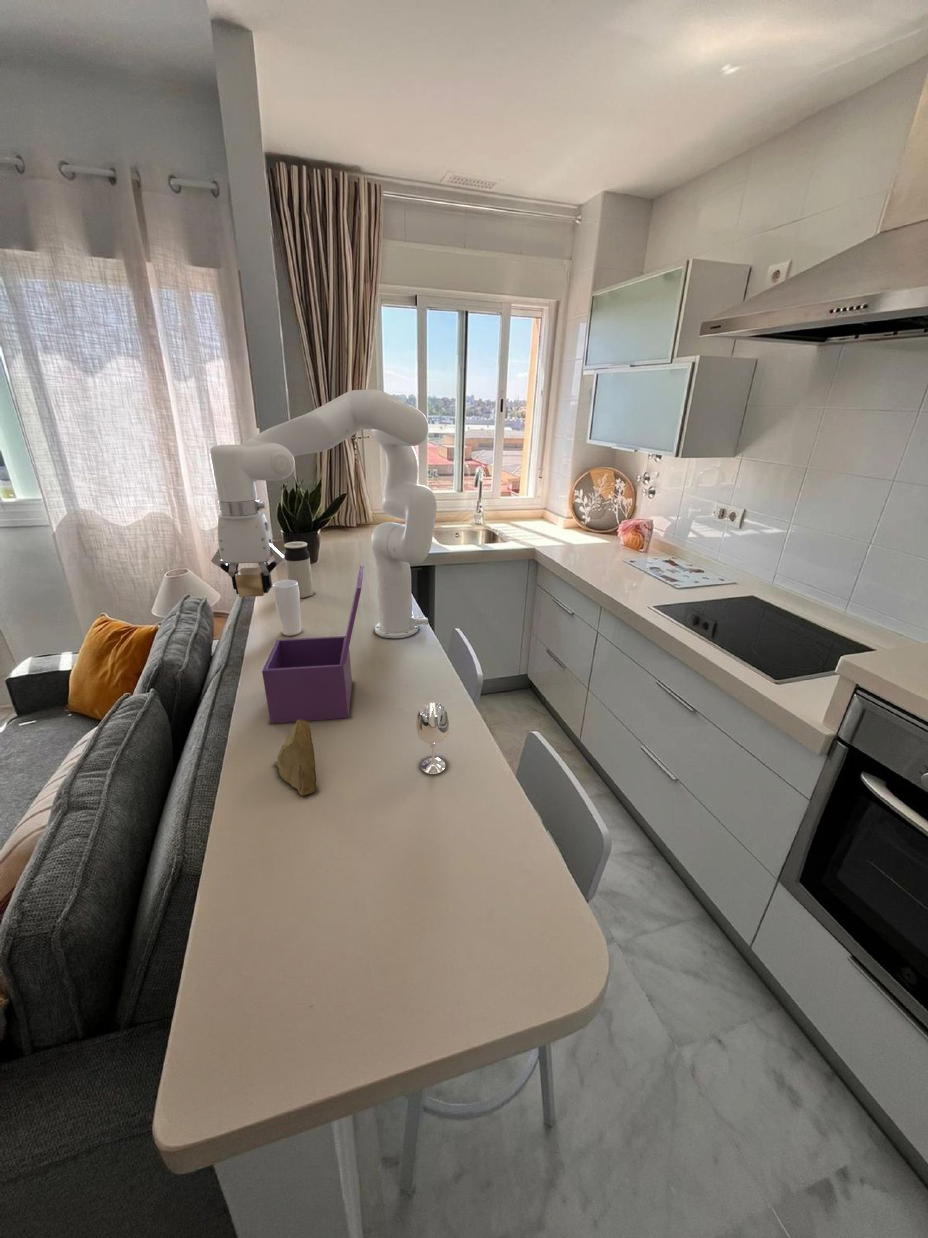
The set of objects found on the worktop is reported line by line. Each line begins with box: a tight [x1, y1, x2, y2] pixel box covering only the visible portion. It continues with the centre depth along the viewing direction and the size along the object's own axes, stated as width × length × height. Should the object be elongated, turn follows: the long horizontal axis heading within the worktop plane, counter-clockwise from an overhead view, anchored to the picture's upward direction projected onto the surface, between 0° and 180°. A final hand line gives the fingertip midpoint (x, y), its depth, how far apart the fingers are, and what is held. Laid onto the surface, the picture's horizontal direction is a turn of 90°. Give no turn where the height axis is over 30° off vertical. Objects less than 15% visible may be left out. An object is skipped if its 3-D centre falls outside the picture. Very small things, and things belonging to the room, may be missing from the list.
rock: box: [275, 719, 317, 797], centre depth 85 cm, size 11×9×10 cm
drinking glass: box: [272, 579, 302, 637], centre depth 140 cm, size 7×7×15 cm
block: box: [235, 566, 266, 598], centre depth 108 cm, size 5×5×5 cm
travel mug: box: [283, 541, 314, 599], centre depth 169 cm, size 8×8×18 cm
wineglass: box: [415, 702, 450, 775], centre depth 87 cm, size 6×6×12 cm
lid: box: [341, 565, 365, 664], centre depth 103 cm, size 16×15×1 cm
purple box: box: [261, 635, 353, 725], centre depth 107 cm, size 16×15×12 cm
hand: (253, 590), depth 109 cm, fingers closed on block, 5 cm apart
